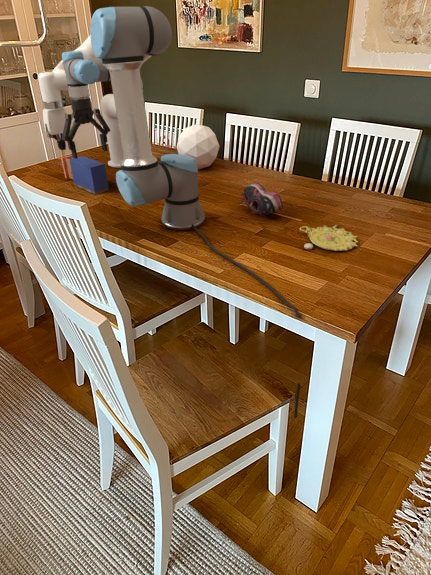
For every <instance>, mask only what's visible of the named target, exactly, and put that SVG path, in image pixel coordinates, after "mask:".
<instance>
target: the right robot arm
mask: <svg viewBox="0 0 431 575" xmlns="http://www.w3.org/2000/svg"><path fill="white" fill-rule="evenodd" d="M90 20H91V21H90V30H89V31H90V32H89V36H90V37H91V45H92V49H93V52H94V54H95V56H96V57H97V58H93V59H84V57H83V53H82V52H80V51H74V50H73V51H72V50H71V51H64V52H62V54H61V58H62V59H61V61H62V60H63V66H64V71H65V76H66V81H67V86H68V90H67V91H68V96H69V98H70V100H69V101H70V106H71V110H72V113H66V114H65V119H66V120H65V125H64V130H63V134H62V140H64V141H65V142H66V143H67V147H68V150H69V151H71V155H72V157H73V158H75V159H77V158H78V157H79V156H78V153H77V147H76V143H75V141H74V138H75V136H76V134H77V132H78V130H79V128H80V127H81V125H85V124H91V125H93V127H95V129H97V130H98V131H99V132H100V134H99V139H100V144H101V151H103V152H108V144H107V143H108V139H107V134H108V132H110V128H109V127H108V125H107V123H106V122H105V120H104V118H103V114H102V112H101V109H99V108H97V107H95V108H93V105H92V99H91V97H90V96H91V94H90V88H89V85H93V84H95V83H100V82H110V83H111V89H112V94H113V95H114V101H115V107H116V113H117V119H118V125H119V130H120V136H121V142H122V148H123V154H124V158H123V160H122V161H121V163H120V166H121V167H120V170H118V171H116V173H115V182H116V186H117V188H118V191H119V192H120V195H121V197H122V198H123V200H124V201H125V202H126V203H127V204H128V205H129V206H131V207H138V206H145V205H147V204H151V203H155V202H159V201H163V200H164V204H163V209H162V213H161V219H160V220H161V225H162V227H163V228H165V229H167V230H170V231H175V232H176V231H177V232H185V231H186V232H187V231H192V230H195V232H197V234H199V235H200V236H201V238H202V239H203V240H204V241H205V243H206V244H207V245H208V247H209V248H210V249H211V250H212V251H214V252H215V253H216V254H218V255H219V256H220V257H223V258H224V259H226V260H228V261H229V262H231V263H232V264H234V265H236V266H238V268H240V269H241V270H243V271H245V272H246V273H248V274H250V275H251V276H252V277H254V278H255V279H256V280H258V281H259V282H261V283H262V284H263V285H264V286H265V287H267V288H268V289H269V290H270V291H271V292H273V294H274V295H275V296H276V297H278V299H280V301H281V302H282V303H283V304H284V305H286V306H287V307H289V308H290V309H291V310H293V312H294V314H295V315H296V317H297V319H302V316H301V314H300V312H299V310H298V309H297V308H296V306H294V305H293V304H291V303H289V302H288V301H287V299H285V297H283V296H282V295H281V294H280V293H279V292H278V291H277V290H276V289H275V288H274V287H273V286H271V285H270V284H269V283H268V282H267V281H266V280H264V279H263V278H262V277H260V276H259V275H257V274H256V273H255V272H253V271H251V270H250V269H248V268H247V267H245V266H244V265H242V264H240V263H239V262H237V261H235V260H234V259H232V258H230V257H229V256H227V255H226V254H225V253H222V252H221V251H220V250H218V249H216V247H214V246H213V245H212V243H210V241H209V240H208V238H207V237H206V236H205V234H203V233H202V232H201V230H200V229H198V228H201V227H202V226H203V225H204V224H205V223H206V215H205V212H204V210H203V208H202V204H201V202H200V196H199V176H198V173H199V169H197V163H196V160H195V159H194V158H192V157H190V156H186V155H180V154H178V153H176V154H175V153H169V154H163V155H161V156H160V162H158V161H159V160H158V158H157V157H156V156H154V155H153V153H152V145H151V140H150V132H149V125H148V124H149V123H148V118H147V117H148V116H147V110H146V104H145V96H144V90H143V87H142V85H143V80H142V74H141V68H142V66H143V64H144V63H145V62H146V61H147V60H149V59H150V58H151V57H158V56H160V55H161V54H162V53H164V52H165V51H166V50H167V49H168V48H169V46H171V45H170V44H171V42H172V37H173V31H172V27H171V24H170V21H169V19H168V17H166V15H165V14H164V13H163V12H162V11H160V9H157V8H155V7H153V6H149V5H147V6H146V5H143V6H142V5H141V6H108V7H101V8H98V9H96V10H95V11H94V13H93V14H92V17H91V19H90ZM141 80H142V81H141ZM94 116H95V117H96V119H97V120H96V119H95V117H94ZM73 119H74V120H73ZM72 120H73V122H72ZM97 121H98V122H97ZM99 123H100V124H99ZM70 127H71V130H70ZM69 131H70V132H69ZM301 386H302V384H301V383H299V382H297V386H296V396H295V404H294V412H293V413H294V414H293V415H294V416H293V419H297V418H298V411H299V410H298V408H299V399H300V393H301Z"/></svg>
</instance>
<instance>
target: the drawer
mask: <svg viewBox="0 0 431 575" xmlns="http://www.w3.org/2000/svg"><path fill="white" fill-rule="evenodd" d="M69 159H73V157H72V154H70V155H69V154H68V155H65V156H60V160H61V161H58V162H56V163H57V164H56V165H57V166H58V167H62V169H63V173H64V179H66V180H67V179H70V180H73V175H72V171H71V166H70V161H69Z"/></svg>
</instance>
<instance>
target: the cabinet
mask: <svg viewBox="0 0 431 575" xmlns="http://www.w3.org/2000/svg"><path fill="white" fill-rule="evenodd" d="M77 157H78V158H77V159H75V158H73V159H69V161H70V166H71V171H72V175H73V179H72V180H73V185H74V186H75V187H77V188H80V189H82V190H84V191H87V192H89V193H92V194H94V195H99V194H101V193H104V192H107V191H110V188H109V182H108V177H107V176H108V175H107V172H106V170H107V169H106V164H105V163H103V162H100V161H98V160H95V159H92V158H89V157H87V156H85V155H81V156H77Z"/></svg>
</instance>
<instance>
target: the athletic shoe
mask: <svg viewBox="0 0 431 575" xmlns="http://www.w3.org/2000/svg"><path fill="white" fill-rule="evenodd" d="M241 197H242V199H243V201H238V203H239V204H241V205H245V206H246V207H247V208H248V210H249V211H250V210H251V213H252V214H255V215H260V217H266V216H267V215H270V214H274V213H275V212H279V211H282V210H283V209H284V205H283V201H282V198H281V196H280V195H279V194H278V192H277V191H274V190H269V191H267V190H266V189H265V187H264V186H263V185H262V184H261V183H258V182H251V183H249V184H247V186H246V187H245V188H244V190H243V191H242V192H241Z"/></svg>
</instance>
